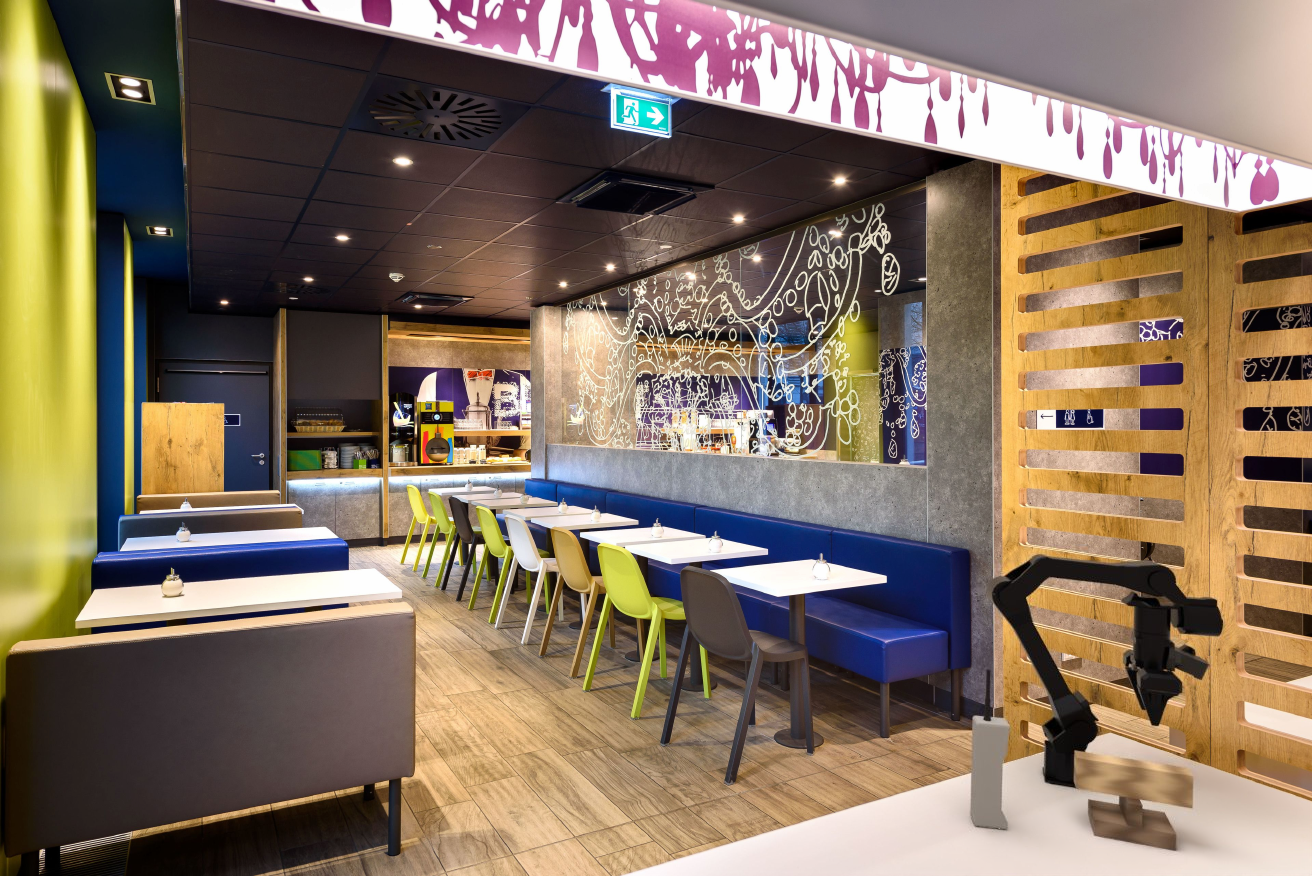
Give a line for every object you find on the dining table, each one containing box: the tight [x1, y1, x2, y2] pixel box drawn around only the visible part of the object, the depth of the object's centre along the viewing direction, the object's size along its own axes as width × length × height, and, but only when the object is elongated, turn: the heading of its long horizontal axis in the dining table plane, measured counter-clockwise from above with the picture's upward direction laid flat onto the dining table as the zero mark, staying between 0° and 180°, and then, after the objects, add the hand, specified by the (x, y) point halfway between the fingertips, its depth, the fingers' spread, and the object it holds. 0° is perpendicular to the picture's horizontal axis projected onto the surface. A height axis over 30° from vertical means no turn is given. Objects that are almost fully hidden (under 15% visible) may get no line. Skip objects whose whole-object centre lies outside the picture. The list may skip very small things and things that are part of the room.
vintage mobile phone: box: [969, 668, 1011, 830], centre depth 128 cm, size 4×5×25 cm
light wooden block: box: [1074, 751, 1194, 809], centre depth 127 cm, size 16×4×5 cm, turn 68°
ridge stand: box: [1087, 796, 1177, 851], centre depth 127 cm, size 11×8×6 cm
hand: (1149, 717), depth 143 cm, fingers open, 9 cm apart
